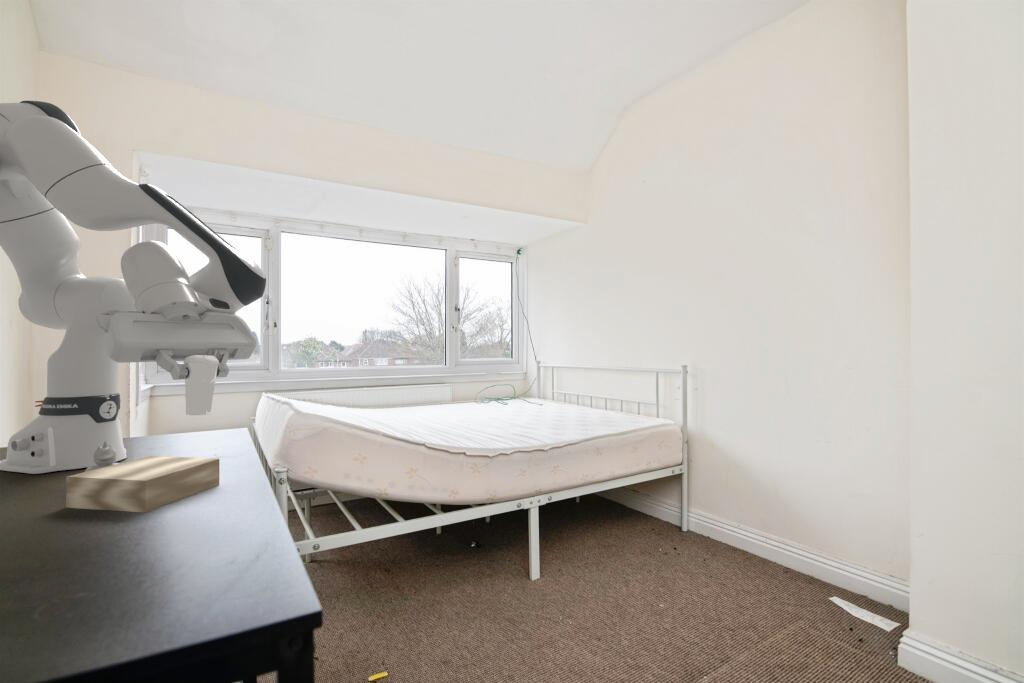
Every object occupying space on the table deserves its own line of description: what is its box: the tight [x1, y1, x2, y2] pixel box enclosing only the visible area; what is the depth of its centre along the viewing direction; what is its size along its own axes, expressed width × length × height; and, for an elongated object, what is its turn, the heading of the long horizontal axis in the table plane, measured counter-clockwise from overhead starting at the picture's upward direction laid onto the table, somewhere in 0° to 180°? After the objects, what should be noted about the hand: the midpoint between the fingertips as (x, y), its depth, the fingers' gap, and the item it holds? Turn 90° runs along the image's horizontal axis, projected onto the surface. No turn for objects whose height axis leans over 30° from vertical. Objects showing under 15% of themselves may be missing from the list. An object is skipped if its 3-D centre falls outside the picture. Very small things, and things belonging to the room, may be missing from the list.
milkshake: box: [183, 350, 219, 416], centre depth 74 cm, size 5×5×10 cm
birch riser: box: [65, 455, 220, 513], centre depth 78 cm, size 14×14×5 cm
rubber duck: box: [84, 440, 120, 472], centre depth 84 cm, size 5×7×8 cm
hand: (202, 375), depth 73 cm, fingers closed on milkshake, 4 cm apart
